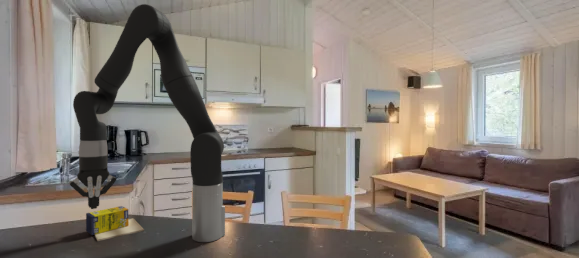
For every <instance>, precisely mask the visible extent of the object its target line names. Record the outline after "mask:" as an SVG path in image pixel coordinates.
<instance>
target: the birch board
mask: <svg viewBox="0 0 579 258" xmlns="http://www.w3.org/2000/svg"><path fill="white" fill-rule="evenodd" d="M128 222H129V226H125V227H121V228H118V229H114V230H110V231H106V232H102V233H98V234H94V237H95V239H96V241H97V242H99V241H100V242H101V241H104V240H105V241H106V240H109V239H113V238H118V237H122V236H127V235H131V234H137V233H140V232H141V233H142V232H144V231H145V229H144V228H143V227H142V225H140V224H139V222H137V221H136V219H135V218H128Z"/></svg>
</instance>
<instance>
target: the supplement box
mask: <svg viewBox="0 0 579 258" xmlns="http://www.w3.org/2000/svg"><path fill="white" fill-rule="evenodd" d="M85 218H86V219H85V224H86V225H85V226H86V227H85V230H86V232H87V233H89V234H90V235H91V236H93V235H94V234H98V233H102V232H106V231H110V230H114V229H118V228H121V227H125V226H129V222H128V219H129V208H127V207H125V206H122V205H120V206H115V207H109V208H105V209H100V210H99V209H98V210H96V211H90V212H86V213H85ZM94 236H95V235H94Z"/></svg>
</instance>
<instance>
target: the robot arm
mask: <svg viewBox="0 0 579 258" xmlns="http://www.w3.org/2000/svg"><path fill="white" fill-rule="evenodd" d="M147 39H148V40H149V41H150V43H151V45H152V46H153V49H154V50H155V52H156V55H157V57H158V58H159V63H160V64H159V65H160V66H159V67H160V76H161V77H160V78H161V82H162V84H163V87H164V89H165V91H166V93H167V96H168V98H169V99H170V101H171V104H173V106H174V108H175V109H176V110H177V112H178V113H179V114H180V115H181V117H182V118H183V119H184V121H185V122H186V123H187V126H188V127H189V130H190V133H191V135H192V137H193V139H192V141H191V144H190V151H189V152H190V175H191V179H192V202H191V203H192V206H191V207H192V208H191V210H192V212H191V213H192V218H191V219H192V220H191V221H192V223H191V224H192V227H191V228H192V229H191V235H192V236H191V238H192V240H193V241H195V242H199V243H209V242H214V241H217V240H219V239H221V238H222V237H223V236H226V207H225V206H226V205H224V204H223V198H224V197H223V194H224V193H223V192H224V190H223V188H224V187H223V184H224V183H223V182H224V181H223V180H224V178H223V177H224V175H223V172H222V171H223V170H222V154H223V153H224V149H225V143H224V140H223V138H222V136H221V135H220V133H219V132H218V130H217V128H216V126H215V124H214V123H213V121H212V119H211V117H210V114H209V113H208V110H207V107H206V104H205V102H204V99H203V97H202V95H201V92H200V90H199V87H198V85H197V82H196V80H195V77H194V76H193V74H192V71H191V69H190V68H189V66H188V64H187V61H186V59H185V57H184V56H183V54H182V51H181V50H180V46H179V44H178V42H177V39H176V36H175V33H174V30H173V27H172V23H171V21H170V19H169V18H168V17H167V16H166V14H164V13H163V12H162V11H160V10H159V9H157V8H155V7H154V6H152V5H150V4H146V3H144V4H139V5H137V6H135V7H134V9H133V10H132V11H131V13H130V15H129V17H128V19H127V21H126V23H125V25H124V27H123V30H122V31H121V34H120V36H119V38H118V41H117V42H116V44H115V47H114V48H113V50H112V52H111V54H110V55H109V57H108V59H107V60H106V62H105V63H104V64H103V66H102V67H101V69H100V70H99V72H98V73H97V75H96V76H95V77H94V83H95V85H96V87H98V90H97V91H91V90H90V91H89V90H82V91H79V92H78V93H76V94H75V96H74V98H73V100H72V101H73V102H72V103H73V104H72V106H73V107H72V108H73V110H74V114H75V118H76V121H77V123H78V126H79V146H78V165H79V166H78V173H77V175H76V178H74V179H72V180H70V181H69V183H68V184H69V186H71V188H73V190H75V191H76V192H77V193H78V194H79V195H80V196H81V197H86V198H87V206H88V207H89V208H90V209H91V210H95V209H97V208H98V207H99V206H100V196H102V195H105V194H107V192H108V191H109V190H110V188H112V186H113V185H114V184H115V183H116V181H117V178H116V177H115V176H113V175H112V174H110V172H109V169H108V165H109V164H108V163H109V162H108V161H109V160H108V155H109V154H108V143H107V125H106V123H105V122H102V121H100V120H99V119H98V116H97V115H104V114H106V113H108V112H109V111H110V110H111V109H112V108H113V107H114V103H116V102H115V101H116V99H117V95H118V92H119V89H121V87H122V86H123V85H124V83H125V82H126V81H127V79H128V77H129V76H130V74H131V71H132V69H133V65H134V61H135V57H136V54H137V52H138V50H139V49H140V46H141V45H142V44H143V43H144V42H145V40H147ZM106 181H107V182H106ZM80 182H81V183H82V184H83V185H84V186H85V187H86V190H87V191H86V190H84V189H83V188H81V187H80ZM105 182H106V183H105ZM104 183H105V184H104ZM103 184H104V185H103ZM102 185H103V187H102V188H101V186H102Z"/></svg>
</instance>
